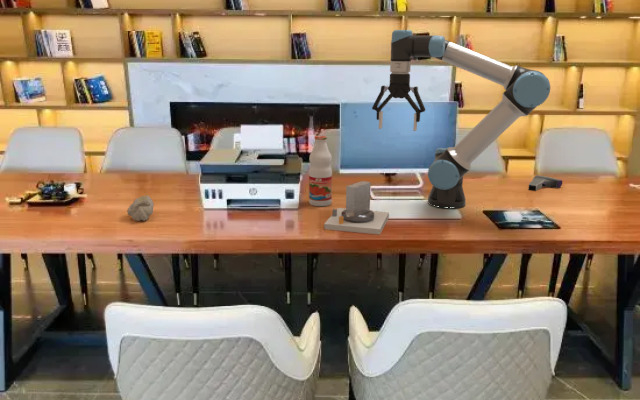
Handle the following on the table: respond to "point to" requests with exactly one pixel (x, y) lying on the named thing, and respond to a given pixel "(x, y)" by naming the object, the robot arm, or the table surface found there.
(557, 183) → the infrared thermometer
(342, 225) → the dial plate
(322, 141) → the fruit juice
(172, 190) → the table surface
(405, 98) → the robot arm
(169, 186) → the table surface
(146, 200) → the fossil replica
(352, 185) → the dial knob
